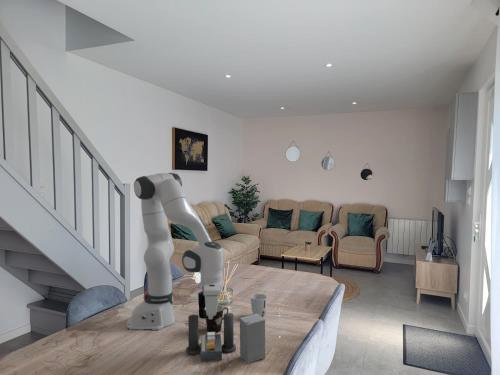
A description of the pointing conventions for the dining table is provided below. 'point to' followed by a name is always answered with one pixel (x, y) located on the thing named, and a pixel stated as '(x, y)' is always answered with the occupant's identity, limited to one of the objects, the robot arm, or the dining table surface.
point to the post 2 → (228, 334)
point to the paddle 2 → (210, 345)
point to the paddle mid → (211, 339)
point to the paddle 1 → (210, 334)
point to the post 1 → (193, 335)
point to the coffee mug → (215, 320)
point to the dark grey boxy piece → (212, 353)
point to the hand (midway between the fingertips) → (210, 317)
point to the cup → (259, 304)
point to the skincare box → (252, 338)
